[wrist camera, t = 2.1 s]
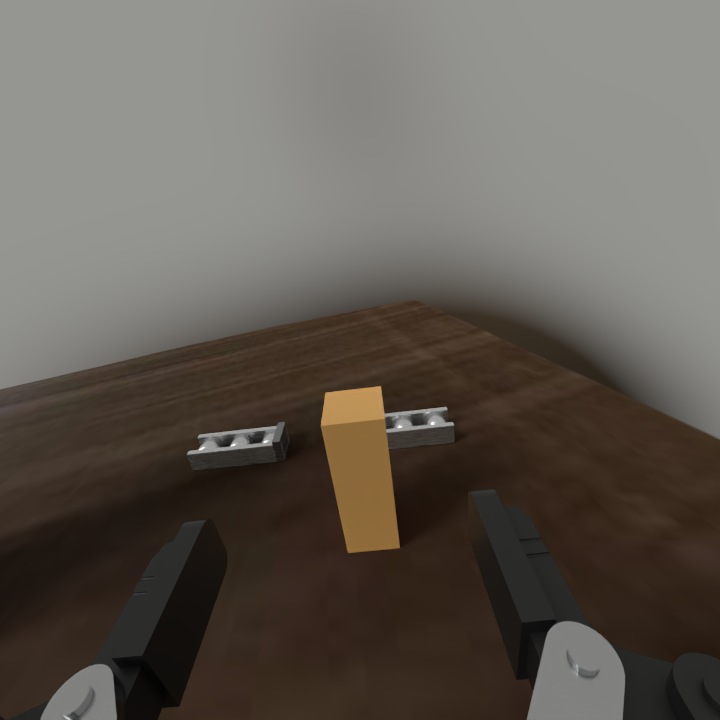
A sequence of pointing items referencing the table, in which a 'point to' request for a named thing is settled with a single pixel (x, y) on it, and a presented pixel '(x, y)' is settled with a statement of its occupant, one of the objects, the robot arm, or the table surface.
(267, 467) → the table surface
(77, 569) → the table surface
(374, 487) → the tall wooden pillar
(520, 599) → the robot arm
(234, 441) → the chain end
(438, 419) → the chain end
